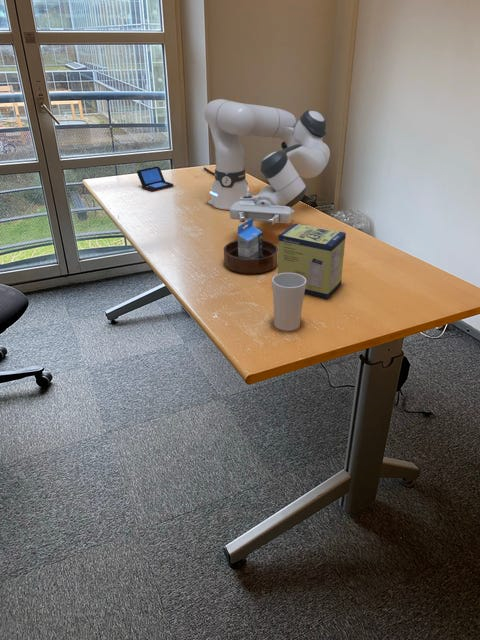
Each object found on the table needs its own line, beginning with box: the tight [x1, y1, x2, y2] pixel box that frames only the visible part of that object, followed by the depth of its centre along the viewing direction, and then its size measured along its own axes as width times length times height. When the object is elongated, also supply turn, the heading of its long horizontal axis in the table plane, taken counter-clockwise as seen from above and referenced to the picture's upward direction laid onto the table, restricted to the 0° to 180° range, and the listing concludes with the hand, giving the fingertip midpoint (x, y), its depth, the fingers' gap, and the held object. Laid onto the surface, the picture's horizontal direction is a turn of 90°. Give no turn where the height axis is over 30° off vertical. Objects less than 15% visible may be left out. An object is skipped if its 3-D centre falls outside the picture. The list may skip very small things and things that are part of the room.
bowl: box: [223, 239, 278, 275], centre depth 153 cm, size 16×16×5 cm
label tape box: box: [237, 218, 264, 259], centre depth 151 cm, size 9×4×12 cm, turn 148°
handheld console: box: [136, 165, 174, 192], centre depth 225 cm, size 12×11×7 cm
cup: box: [271, 273, 306, 331], centre depth 121 cm, size 8×8×12 cm
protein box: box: [277, 222, 347, 300], centre depth 138 cm, size 10×16×16 cm
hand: (256, 221), depth 159 cm, fingers open, 8 cm apart
